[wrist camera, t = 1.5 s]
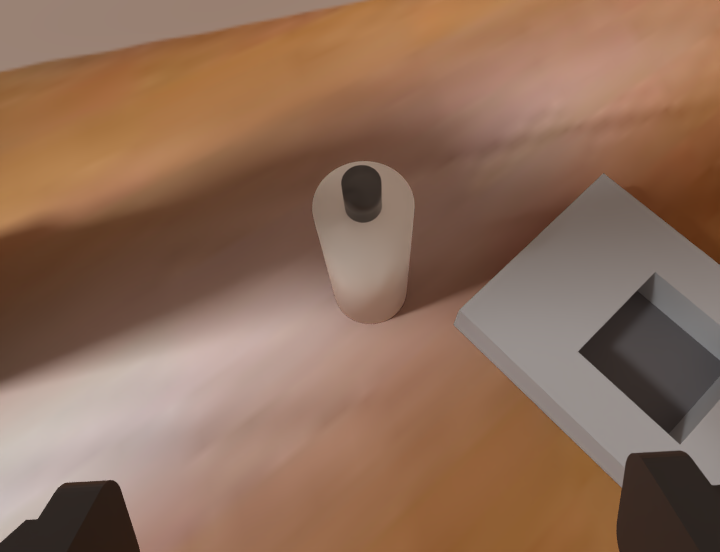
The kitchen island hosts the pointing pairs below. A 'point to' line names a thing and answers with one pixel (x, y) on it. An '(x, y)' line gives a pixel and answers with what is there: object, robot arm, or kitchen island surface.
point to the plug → (366, 238)
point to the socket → (610, 331)
